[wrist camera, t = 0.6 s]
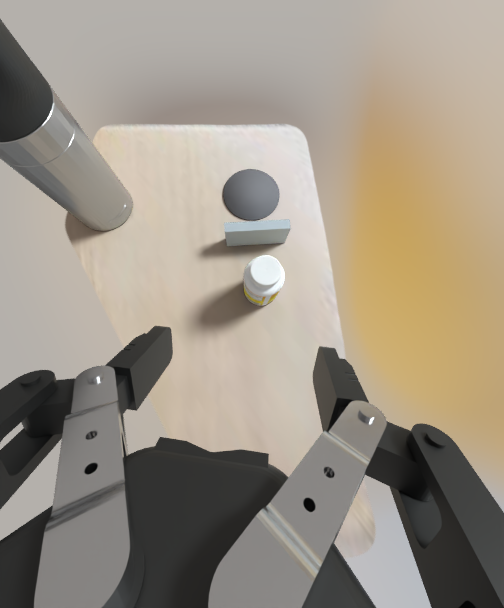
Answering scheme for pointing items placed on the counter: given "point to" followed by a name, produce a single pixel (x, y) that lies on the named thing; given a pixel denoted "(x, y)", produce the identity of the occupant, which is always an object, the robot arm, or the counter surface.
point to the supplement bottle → (263, 280)
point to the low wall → (256, 232)
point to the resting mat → (251, 194)
